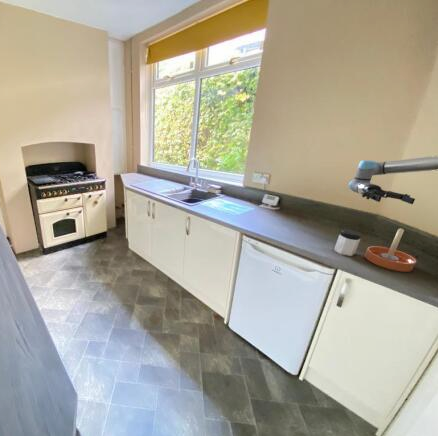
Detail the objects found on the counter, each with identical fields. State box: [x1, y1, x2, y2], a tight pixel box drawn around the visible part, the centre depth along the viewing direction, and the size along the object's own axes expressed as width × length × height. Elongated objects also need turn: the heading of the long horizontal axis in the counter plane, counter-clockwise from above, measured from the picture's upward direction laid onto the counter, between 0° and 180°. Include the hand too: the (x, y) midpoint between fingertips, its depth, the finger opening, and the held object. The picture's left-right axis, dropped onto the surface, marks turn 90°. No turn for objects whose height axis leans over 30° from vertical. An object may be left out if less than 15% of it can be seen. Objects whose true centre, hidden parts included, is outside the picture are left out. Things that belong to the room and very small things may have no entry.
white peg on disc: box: [380, 228, 405, 262], centre depth 114 cm, size 6×6×18 cm
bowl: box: [364, 245, 418, 273], centre depth 117 cm, size 17×17×5 cm
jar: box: [333, 228, 362, 257], centre depth 125 cm, size 9×8×12 cm
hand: (396, 200), depth 116 cm, fingers open, 13 cm apart
